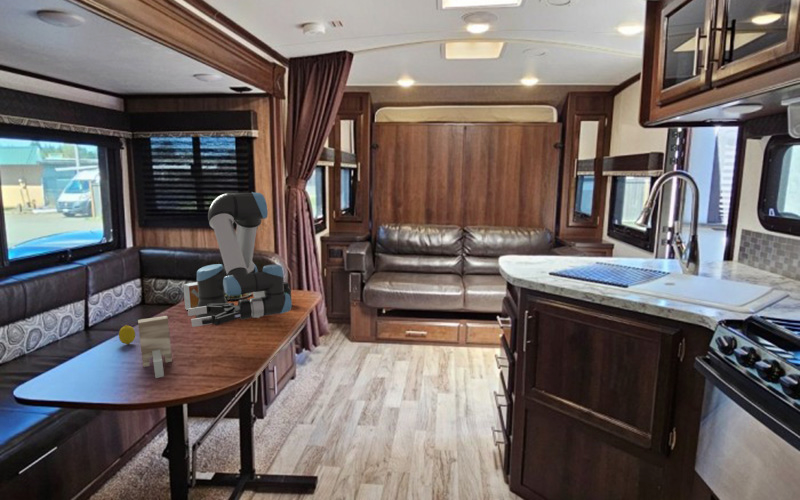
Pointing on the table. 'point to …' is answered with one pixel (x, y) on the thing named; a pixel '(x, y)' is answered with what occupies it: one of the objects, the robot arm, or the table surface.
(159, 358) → the notched board
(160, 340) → the slotted tab
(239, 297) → the salad plate
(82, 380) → the table surface
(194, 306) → the small box
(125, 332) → the lemon
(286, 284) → the supplement bottle
